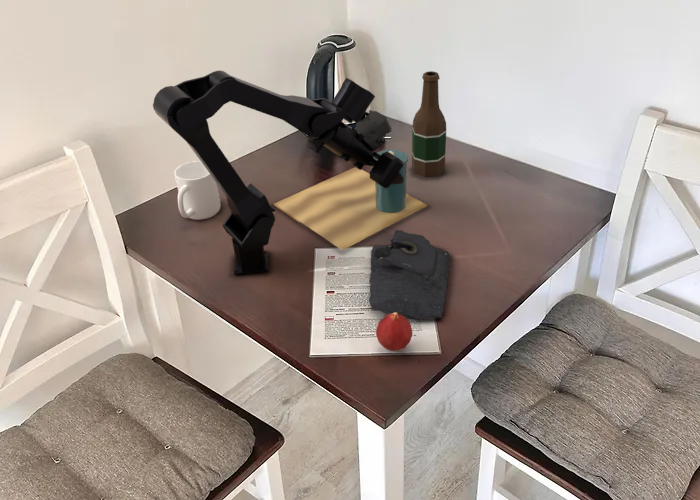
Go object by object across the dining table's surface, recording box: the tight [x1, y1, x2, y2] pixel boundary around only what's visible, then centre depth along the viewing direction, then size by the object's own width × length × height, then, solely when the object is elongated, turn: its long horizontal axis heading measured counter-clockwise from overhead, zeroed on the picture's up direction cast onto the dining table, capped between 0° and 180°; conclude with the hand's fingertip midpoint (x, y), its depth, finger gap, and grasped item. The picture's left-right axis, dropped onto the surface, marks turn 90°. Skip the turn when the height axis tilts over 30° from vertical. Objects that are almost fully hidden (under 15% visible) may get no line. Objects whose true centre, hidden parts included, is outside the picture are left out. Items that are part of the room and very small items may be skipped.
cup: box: [173, 160, 221, 221], centre depth 141 cm, size 8×12×10 cm
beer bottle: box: [411, 70, 447, 178], centre depth 148 cm, size 8×8×24 cm
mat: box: [273, 166, 428, 251], centre depth 144 cm, size 24×24×1 cm
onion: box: [375, 312, 413, 352], centre depth 106 cm, size 6×6×8 cm
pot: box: [373, 149, 409, 213], centre depth 139 cm, size 7×7×13 cm
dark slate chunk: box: [368, 229, 451, 320], centre depth 121 cm, size 15×22×5 cm
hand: (389, 172), depth 138 cm, fingers open, 9 cm apart
